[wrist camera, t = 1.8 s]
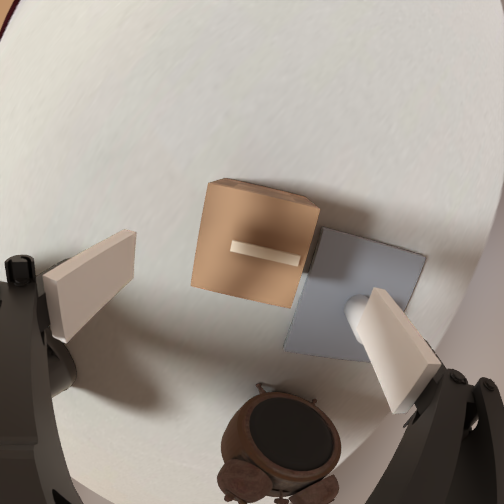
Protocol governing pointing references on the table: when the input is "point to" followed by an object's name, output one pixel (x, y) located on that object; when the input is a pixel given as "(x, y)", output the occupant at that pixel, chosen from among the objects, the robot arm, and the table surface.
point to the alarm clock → (279, 451)
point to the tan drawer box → (253, 241)
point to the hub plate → (347, 293)
